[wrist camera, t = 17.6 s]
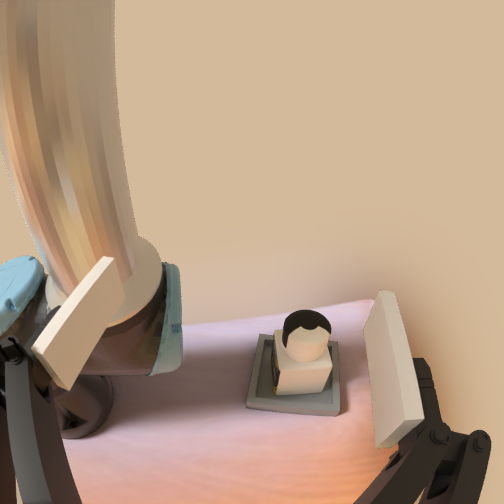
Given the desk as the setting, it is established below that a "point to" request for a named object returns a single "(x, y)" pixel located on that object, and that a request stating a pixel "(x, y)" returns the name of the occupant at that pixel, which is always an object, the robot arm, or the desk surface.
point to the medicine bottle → (301, 354)
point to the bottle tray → (303, 404)
